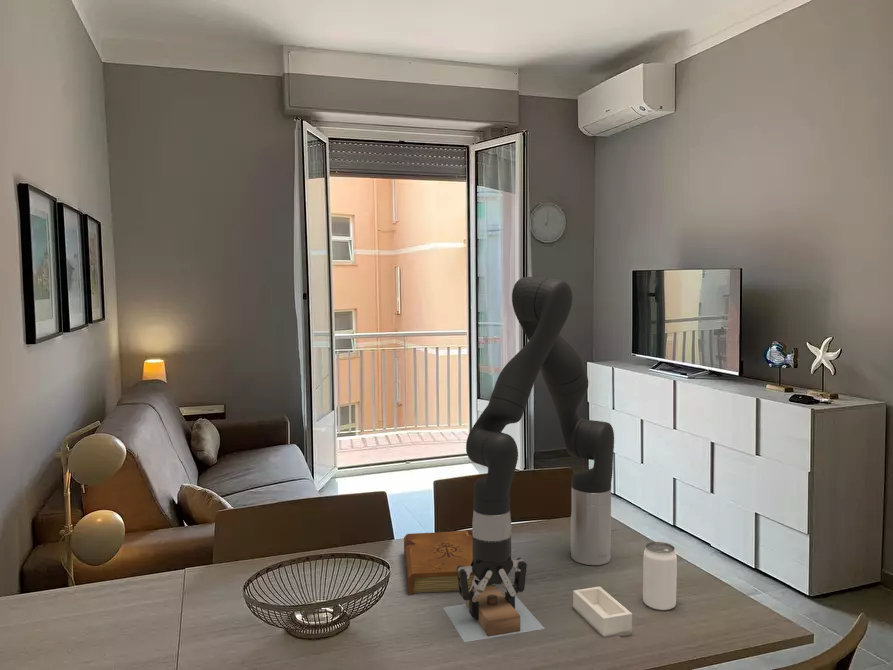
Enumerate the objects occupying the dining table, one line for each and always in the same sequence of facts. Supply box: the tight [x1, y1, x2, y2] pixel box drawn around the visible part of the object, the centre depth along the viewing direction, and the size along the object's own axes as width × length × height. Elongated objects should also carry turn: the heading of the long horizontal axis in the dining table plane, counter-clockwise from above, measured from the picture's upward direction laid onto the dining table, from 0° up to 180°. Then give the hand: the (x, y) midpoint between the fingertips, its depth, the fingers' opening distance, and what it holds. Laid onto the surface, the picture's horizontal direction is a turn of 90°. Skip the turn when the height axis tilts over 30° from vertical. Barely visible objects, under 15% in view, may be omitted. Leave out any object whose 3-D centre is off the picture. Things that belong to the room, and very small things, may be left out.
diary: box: [403, 530, 494, 596], centre depth 155 cm, size 23×19×6 cm
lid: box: [465, 586, 520, 637], centre depth 133 cm, size 13×6×4 cm, turn 17°
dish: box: [572, 586, 633, 638], centre depth 132 cm, size 12×6×4 cm, turn 17°
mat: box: [442, 595, 546, 643], centre depth 133 cm, size 14×16×1 cm
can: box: [642, 541, 678, 611], centre depth 139 cm, size 6×6×12 cm
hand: (492, 615), depth 133 cm, fingers closed on lid, 6 cm apart
